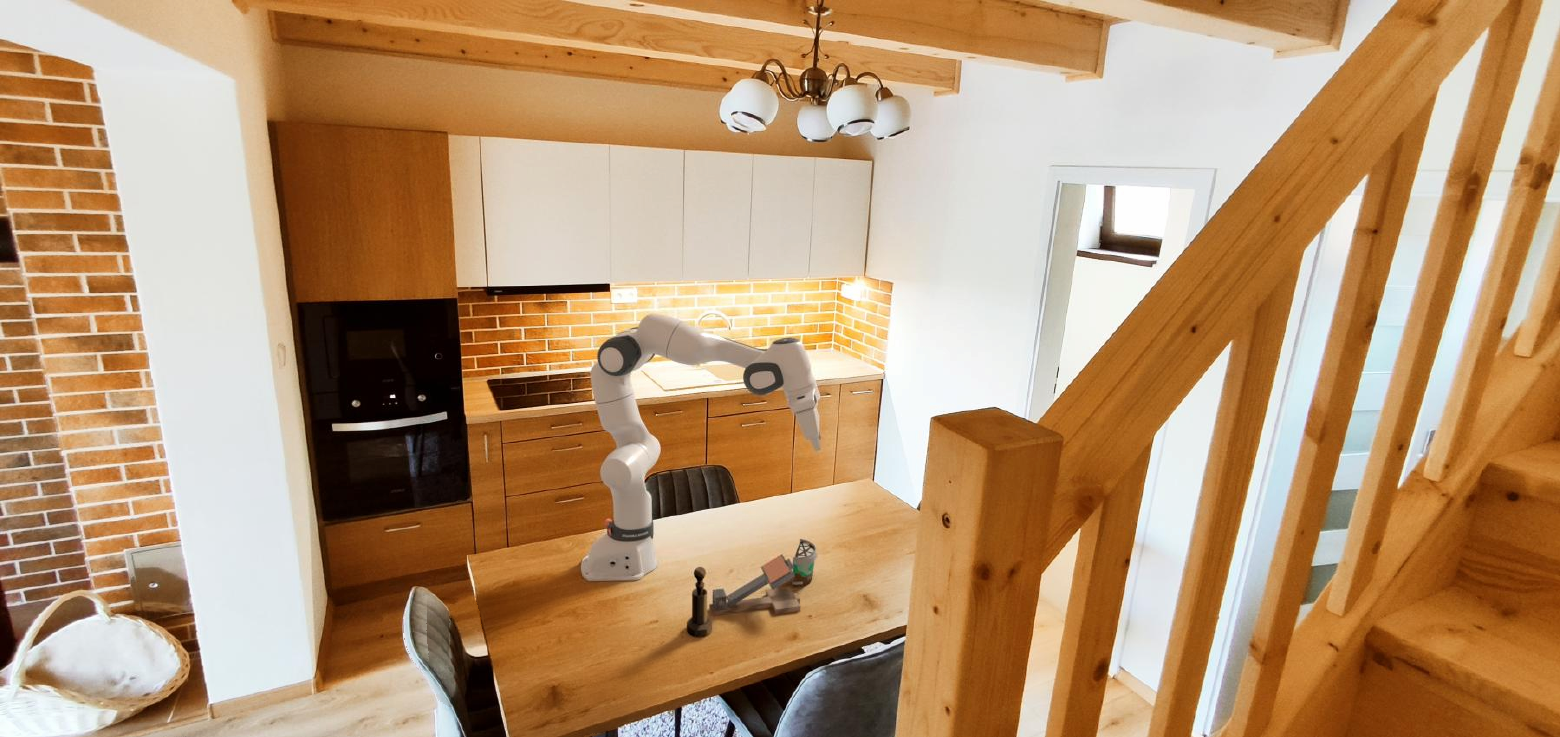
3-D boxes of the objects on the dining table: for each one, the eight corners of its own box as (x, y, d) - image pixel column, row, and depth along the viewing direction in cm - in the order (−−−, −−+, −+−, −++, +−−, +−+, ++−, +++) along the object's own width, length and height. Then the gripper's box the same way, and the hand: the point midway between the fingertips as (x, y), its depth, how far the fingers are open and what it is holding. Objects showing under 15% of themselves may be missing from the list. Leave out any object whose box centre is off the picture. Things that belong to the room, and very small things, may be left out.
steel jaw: (733, 614, 195) (730, 608, 195) (725, 593, 205) (722, 588, 204) (798, 574, 198) (795, 569, 197) (787, 556, 207) (784, 551, 207)
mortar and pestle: (699, 619, 196) (700, 558, 191) (717, 629, 192) (718, 567, 187) (681, 630, 191) (681, 568, 186) (699, 641, 187) (699, 577, 182)
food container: (812, 592, 210) (814, 560, 208) (791, 589, 212) (792, 557, 209) (819, 570, 222) (820, 540, 220) (799, 567, 223) (800, 537, 221)
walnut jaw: (713, 623, 194) (714, 604, 193) (706, 602, 204) (706, 584, 202) (803, 610, 201) (804, 592, 200) (792, 591, 211) (793, 573, 209)
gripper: (793, 391, 205) (808, 437, 207) (789, 409, 185) (806, 459, 187) (815, 385, 204) (829, 431, 206) (814, 402, 184) (830, 452, 186)
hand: (818, 444), depth 197 cm, fingers open, 8 cm apart
